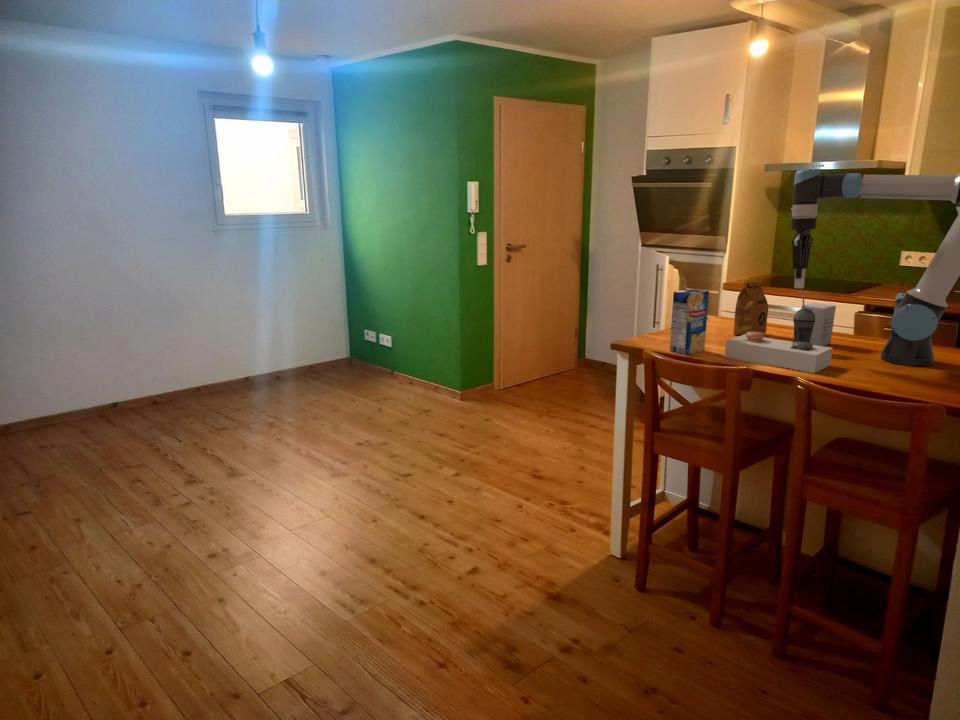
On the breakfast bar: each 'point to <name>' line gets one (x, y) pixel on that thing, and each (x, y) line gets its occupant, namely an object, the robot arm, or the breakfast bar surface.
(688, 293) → the beverage box
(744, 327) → the coffee package
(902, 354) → the robot arm
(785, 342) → the plunger panel
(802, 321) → the beverage cup
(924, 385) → the breakfast bar surface
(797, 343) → the charcoal plunger
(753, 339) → the terracotta plunger
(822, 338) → the supplement box
